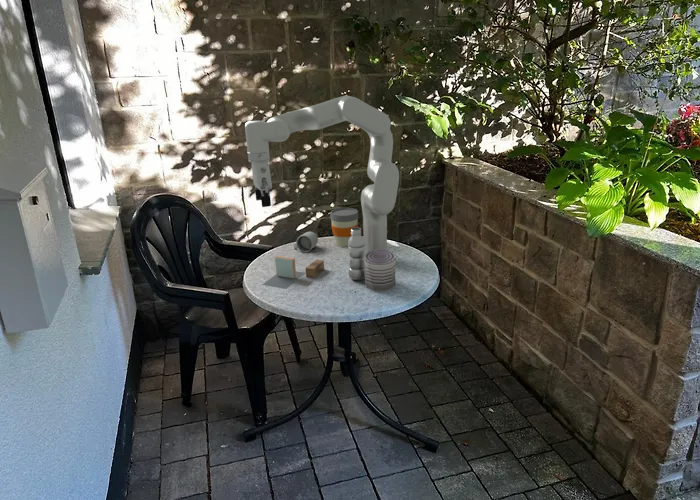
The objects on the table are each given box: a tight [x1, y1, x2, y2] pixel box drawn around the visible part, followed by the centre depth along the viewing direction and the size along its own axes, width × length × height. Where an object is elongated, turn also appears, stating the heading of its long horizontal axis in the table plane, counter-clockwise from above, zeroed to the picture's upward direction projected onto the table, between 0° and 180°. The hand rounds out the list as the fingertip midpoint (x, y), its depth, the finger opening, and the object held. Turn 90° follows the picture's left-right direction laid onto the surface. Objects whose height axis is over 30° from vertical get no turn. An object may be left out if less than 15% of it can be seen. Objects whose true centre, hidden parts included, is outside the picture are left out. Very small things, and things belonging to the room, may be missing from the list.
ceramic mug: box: [292, 231, 319, 253], centre depth 217 cm, size 11×8×8 cm
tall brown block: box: [293, 259, 325, 287], centre depth 188 cm, size 16×6×4 cm, turn 156°
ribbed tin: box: [364, 249, 397, 293], centre depth 179 cm, size 11×11×12 cm
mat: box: [261, 270, 306, 290], centre depth 188 cm, size 10×15×1 cm
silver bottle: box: [347, 227, 365, 281], centre depth 183 cm, size 6×7×20 cm
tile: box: [274, 255, 297, 279], centre depth 188 cm, size 8×2×8 cm, turn 66°
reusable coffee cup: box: [329, 207, 359, 248], centre depth 220 cm, size 13×13×15 cm
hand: (263, 203), depth 181 cm, fingers open, 9 cm apart
